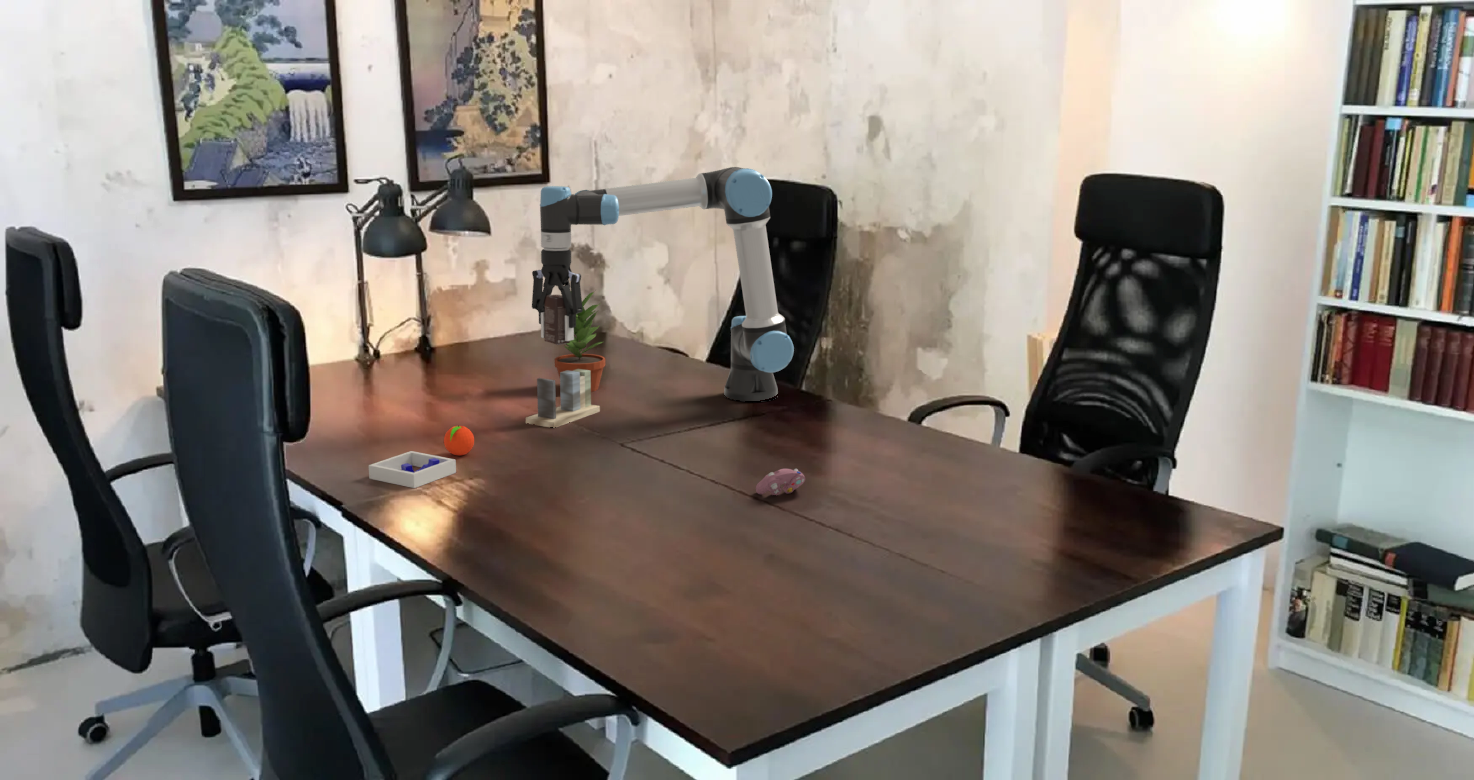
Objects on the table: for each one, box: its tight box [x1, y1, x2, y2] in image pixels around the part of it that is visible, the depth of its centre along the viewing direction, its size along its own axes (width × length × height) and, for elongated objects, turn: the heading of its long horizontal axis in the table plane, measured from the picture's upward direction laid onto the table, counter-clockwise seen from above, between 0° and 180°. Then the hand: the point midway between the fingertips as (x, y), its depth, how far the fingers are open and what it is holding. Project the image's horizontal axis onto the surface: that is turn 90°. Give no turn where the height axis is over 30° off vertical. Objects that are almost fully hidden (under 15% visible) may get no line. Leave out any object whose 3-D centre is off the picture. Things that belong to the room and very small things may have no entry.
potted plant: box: [554, 289, 606, 393], centre depth 342 cm, size 15×15×30 cm
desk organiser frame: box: [368, 450, 457, 489], centre depth 262 cm, size 13×13×3 cm
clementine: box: [443, 425, 475, 457], centre depth 277 cm, size 8×7×7 cm
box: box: [544, 294, 570, 346], centre depth 305 cm, size 6×4×12 cm
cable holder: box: [401, 458, 440, 473], centre depth 260 cm, size 8×4×4 cm, turn 132°
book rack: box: [525, 369, 601, 429], centre depth 312 cm, size 9×20×12 cm, turn 151°
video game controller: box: [755, 468, 806, 496], centre depth 253 cm, size 10×5×7 cm, turn 118°
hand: (557, 338), depth 306 cm, fingers closed on box, 7 cm apart
